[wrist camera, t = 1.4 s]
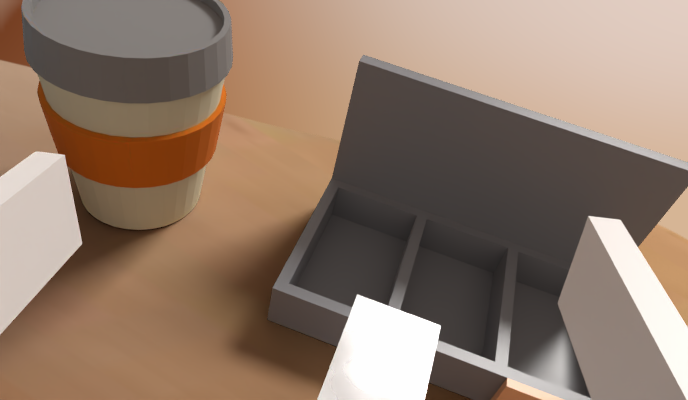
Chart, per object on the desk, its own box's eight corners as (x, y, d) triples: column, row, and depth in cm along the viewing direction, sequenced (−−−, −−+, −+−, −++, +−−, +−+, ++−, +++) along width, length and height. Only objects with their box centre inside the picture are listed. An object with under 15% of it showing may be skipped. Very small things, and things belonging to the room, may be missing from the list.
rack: (263, 326, 37) (289, 168, 28) (328, 201, 47) (363, 54, 38) (596, 456, 35) (746, 331, 25) (589, 296, 45) (695, 164, 35)
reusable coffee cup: (208, 258, 40) (218, 78, 30) (25, 234, 38) (-28, 35, 29) (233, 154, 49) (247, -11, 40) (87, 131, 48) (64, -46, 38)
